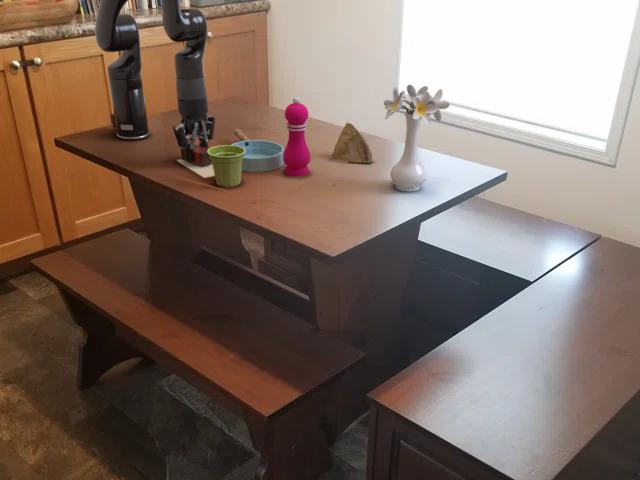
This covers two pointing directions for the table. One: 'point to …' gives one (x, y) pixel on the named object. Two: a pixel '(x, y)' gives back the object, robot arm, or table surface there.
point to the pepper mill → (296, 140)
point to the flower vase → (413, 132)
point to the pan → (261, 155)
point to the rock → (352, 146)
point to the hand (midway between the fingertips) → (197, 159)
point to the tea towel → (199, 168)
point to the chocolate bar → (198, 155)
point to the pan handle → (241, 136)
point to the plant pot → (227, 164)
